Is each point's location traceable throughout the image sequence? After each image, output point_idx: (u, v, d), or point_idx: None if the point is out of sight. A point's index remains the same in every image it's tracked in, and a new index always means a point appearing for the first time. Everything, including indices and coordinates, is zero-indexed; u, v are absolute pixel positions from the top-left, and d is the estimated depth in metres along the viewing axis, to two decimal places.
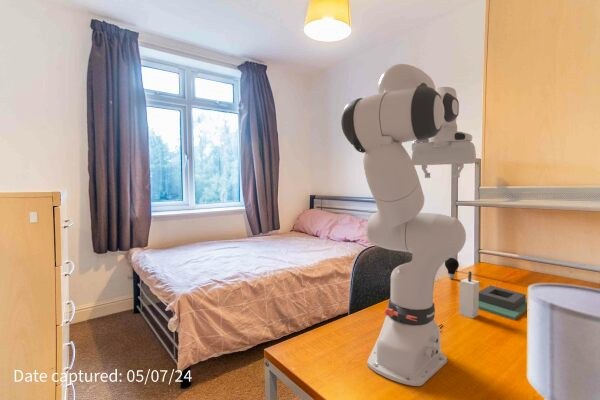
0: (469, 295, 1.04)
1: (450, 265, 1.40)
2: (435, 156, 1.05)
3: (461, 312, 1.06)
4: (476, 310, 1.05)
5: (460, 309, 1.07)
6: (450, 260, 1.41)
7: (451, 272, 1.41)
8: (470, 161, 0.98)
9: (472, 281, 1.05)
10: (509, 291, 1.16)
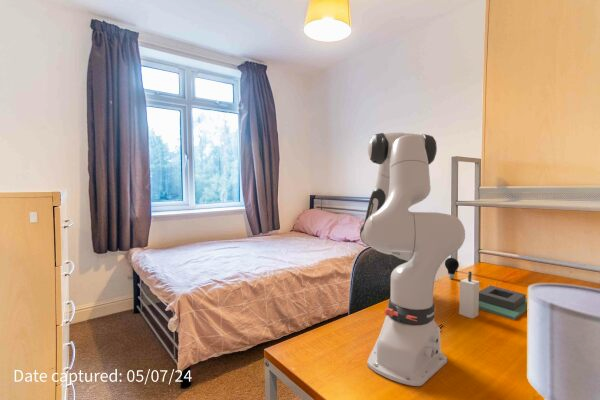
0: (469, 295, 1.04)
1: (450, 265, 1.40)
2: None
3: (461, 312, 1.06)
4: (476, 310, 1.05)
5: (460, 309, 1.07)
6: (450, 260, 1.41)
7: (451, 272, 1.41)
8: None
9: (472, 281, 1.05)
10: (509, 291, 1.16)
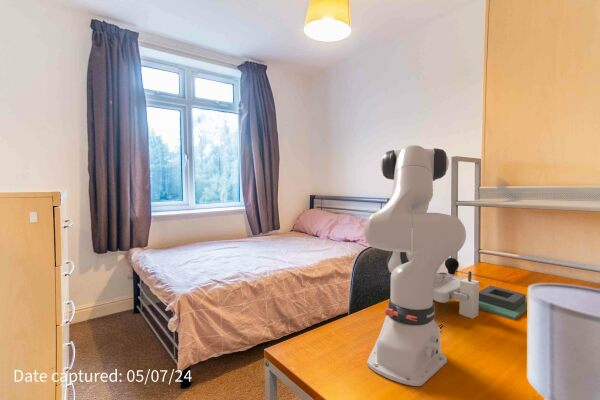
0: (469, 295, 1.04)
1: (450, 265, 1.40)
2: (448, 286, 1.10)
3: (461, 312, 1.06)
4: (476, 310, 1.05)
5: (460, 309, 1.07)
6: (450, 260, 1.41)
7: (451, 272, 1.41)
8: None
9: (472, 281, 1.05)
10: (509, 291, 1.16)
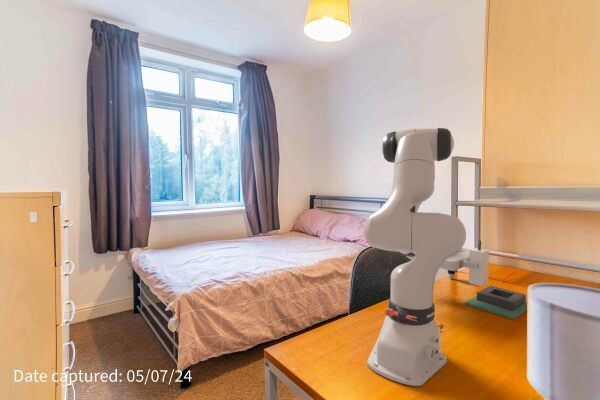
0: (479, 263, 1.06)
1: None
2: (458, 256, 1.12)
3: (471, 281, 1.08)
4: (485, 278, 1.07)
5: (470, 278, 1.09)
6: None
7: (451, 272, 1.41)
8: None
9: (482, 250, 1.07)
10: (509, 291, 1.16)
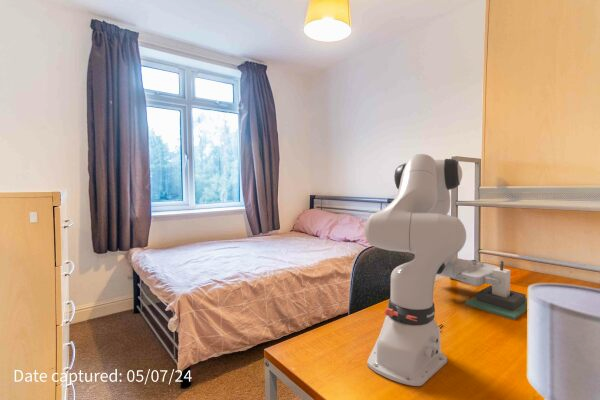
0: (502, 283, 1.12)
1: None
2: (481, 271, 1.18)
3: None
4: (508, 297, 1.13)
5: None
6: None
7: None
8: (498, 267, 1.23)
9: (504, 270, 1.14)
10: None
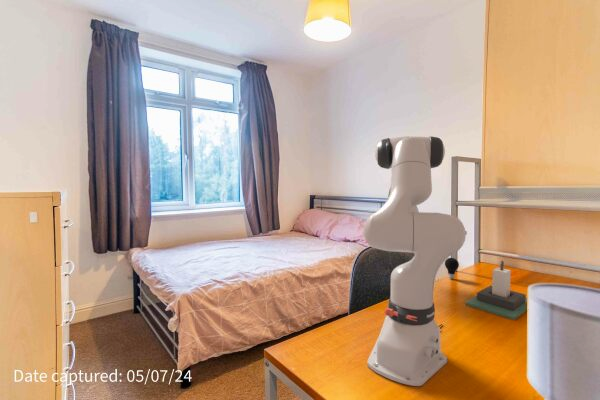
0: (502, 282, 1.12)
1: (450, 265, 1.40)
2: None
3: None
4: (508, 297, 1.13)
5: None
6: (450, 260, 1.41)
7: (451, 272, 1.41)
8: None
9: (504, 270, 1.14)
10: None
